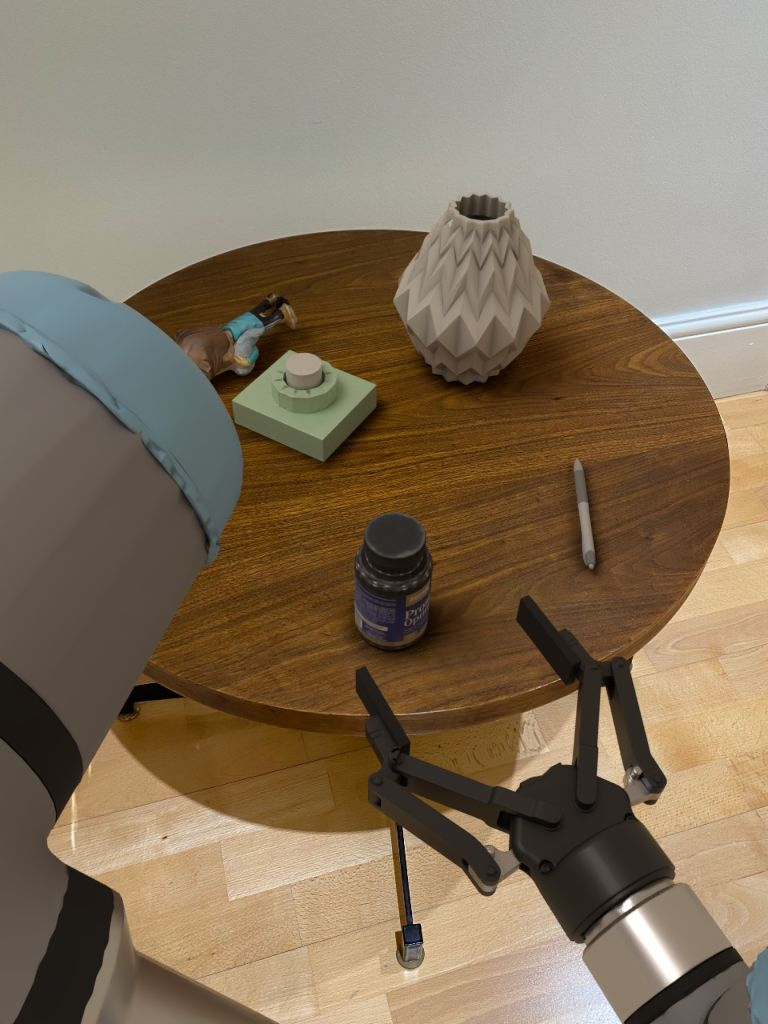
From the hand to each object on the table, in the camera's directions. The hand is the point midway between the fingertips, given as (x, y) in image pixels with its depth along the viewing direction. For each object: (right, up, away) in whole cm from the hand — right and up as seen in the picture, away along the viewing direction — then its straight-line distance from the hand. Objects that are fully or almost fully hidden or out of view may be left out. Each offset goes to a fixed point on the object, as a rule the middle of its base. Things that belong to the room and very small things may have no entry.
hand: (443, 641), depth 63 cm
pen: (+14, +9, +19) cm, 25 cm away
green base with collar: (-12, +20, +28) cm, 36 cm away
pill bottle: (-4, 0, +10) cm, 11 cm away
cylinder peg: (-12, +23, +24) cm, 35 cm away
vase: (+5, +26, +34) cm, 43 cm away
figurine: (-20, +26, +34) cm, 48 cm away
